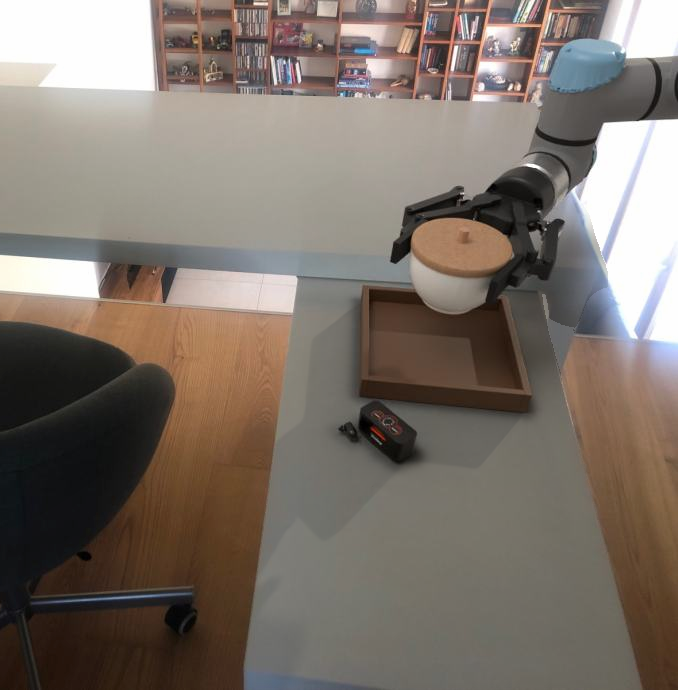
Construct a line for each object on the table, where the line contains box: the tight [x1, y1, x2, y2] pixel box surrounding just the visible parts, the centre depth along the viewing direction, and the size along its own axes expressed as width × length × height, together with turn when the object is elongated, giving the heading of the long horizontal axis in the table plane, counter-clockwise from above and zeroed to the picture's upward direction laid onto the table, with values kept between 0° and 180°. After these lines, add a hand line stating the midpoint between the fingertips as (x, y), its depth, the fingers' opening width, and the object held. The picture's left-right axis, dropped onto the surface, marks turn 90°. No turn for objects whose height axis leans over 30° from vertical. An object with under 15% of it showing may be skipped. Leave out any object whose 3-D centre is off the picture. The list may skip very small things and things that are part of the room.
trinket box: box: [408, 218, 514, 314], centre depth 78 cm, size 11×11×9 cm
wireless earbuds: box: [338, 399, 418, 463], centre depth 74 cm, size 5×7×3 cm, turn 35°
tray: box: [358, 284, 533, 414], centre depth 86 cm, size 19×19×3 cm
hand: (441, 271), depth 75 cm, fingers closed on trinket box, 11 cm apart
